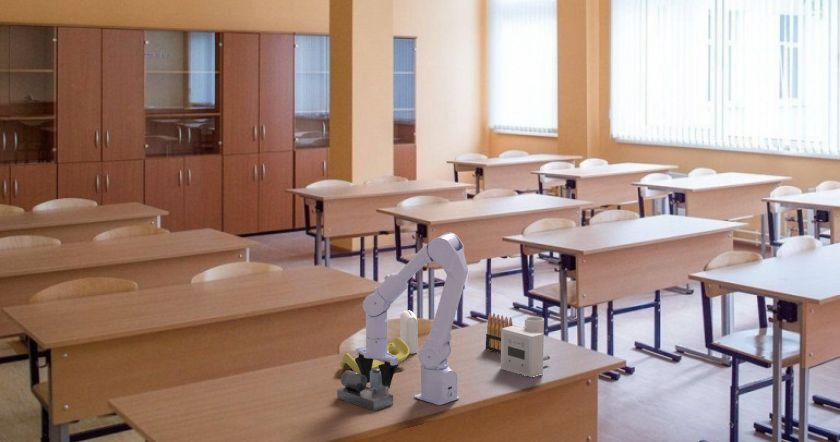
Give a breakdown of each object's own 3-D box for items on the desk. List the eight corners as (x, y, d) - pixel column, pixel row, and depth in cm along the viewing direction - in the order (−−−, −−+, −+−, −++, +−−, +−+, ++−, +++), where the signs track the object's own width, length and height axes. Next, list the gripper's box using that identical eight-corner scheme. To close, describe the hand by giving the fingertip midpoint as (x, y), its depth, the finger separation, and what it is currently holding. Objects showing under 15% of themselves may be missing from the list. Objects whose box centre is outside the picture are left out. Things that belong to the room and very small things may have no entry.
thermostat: (500, 368, 291) (501, 318, 289) (532, 360, 300) (534, 311, 298) (531, 378, 282) (532, 326, 280) (563, 369, 291) (565, 319, 289)
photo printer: (398, 345, 315) (398, 307, 313) (411, 345, 316) (412, 307, 314) (405, 354, 305) (405, 315, 303) (418, 353, 306) (419, 314, 304)
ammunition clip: (485, 349, 312) (485, 312, 310) (489, 348, 313) (489, 311, 311) (510, 356, 304) (510, 318, 302) (514, 355, 305) (515, 317, 303)
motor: (393, 404, 258) (393, 378, 257) (373, 410, 253) (373, 384, 252) (354, 391, 269) (354, 367, 268) (334, 397, 264) (334, 372, 263)
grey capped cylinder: (385, 391, 269) (385, 369, 268) (376, 394, 267) (376, 372, 266) (376, 388, 272) (376, 366, 271) (367, 391, 269) (367, 369, 268)
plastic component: (362, 371, 280) (343, 349, 286) (357, 390, 284) (338, 369, 290) (416, 353, 292) (396, 333, 298) (410, 372, 296) (390, 352, 302)
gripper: (347, 334, 269) (347, 382, 271) (384, 344, 259) (384, 394, 261) (366, 330, 274) (366, 377, 276) (403, 339, 264) (403, 388, 266)
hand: (376, 385), depth 269 cm, fingers open, 7 cm apart
